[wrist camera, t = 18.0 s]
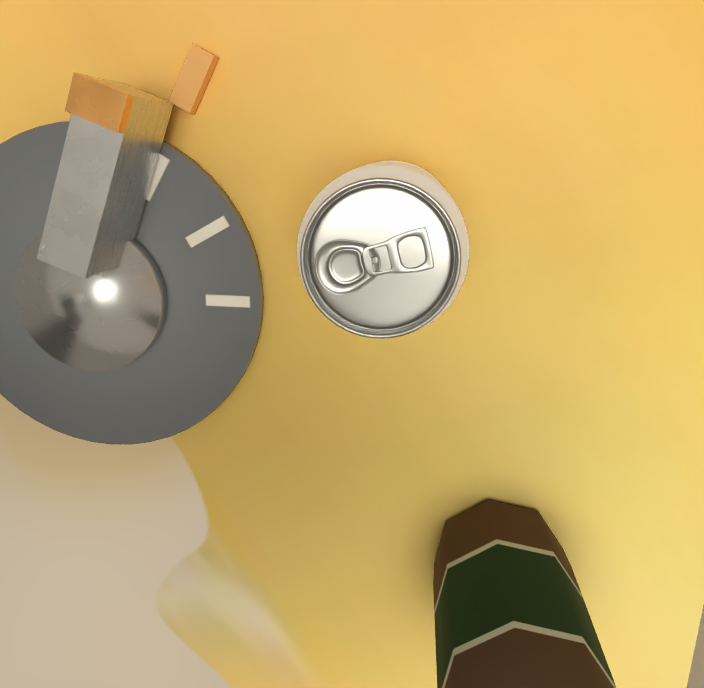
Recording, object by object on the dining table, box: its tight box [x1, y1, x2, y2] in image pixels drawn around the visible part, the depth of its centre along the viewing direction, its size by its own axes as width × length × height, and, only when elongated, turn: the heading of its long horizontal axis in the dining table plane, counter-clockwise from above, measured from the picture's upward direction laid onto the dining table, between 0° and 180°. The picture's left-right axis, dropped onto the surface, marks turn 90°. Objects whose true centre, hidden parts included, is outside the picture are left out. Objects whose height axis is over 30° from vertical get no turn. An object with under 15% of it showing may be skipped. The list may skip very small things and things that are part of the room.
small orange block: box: [169, 43, 219, 114], centre depth 32 cm, size 3×1×1 cm, turn 152°
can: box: [297, 161, 469, 338], centre depth 28 cm, size 6×6×12 cm
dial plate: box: [0, 122, 264, 444], centre depth 36 cm, size 18×18×1 cm
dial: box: [14, 73, 173, 371], centre depth 32 cm, size 15×8×5 cm, turn 158°
